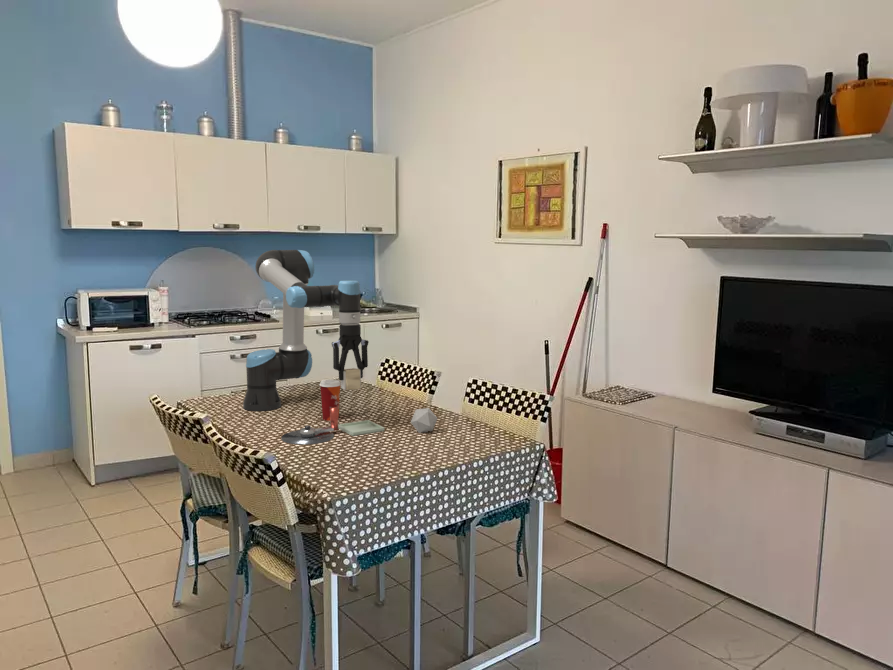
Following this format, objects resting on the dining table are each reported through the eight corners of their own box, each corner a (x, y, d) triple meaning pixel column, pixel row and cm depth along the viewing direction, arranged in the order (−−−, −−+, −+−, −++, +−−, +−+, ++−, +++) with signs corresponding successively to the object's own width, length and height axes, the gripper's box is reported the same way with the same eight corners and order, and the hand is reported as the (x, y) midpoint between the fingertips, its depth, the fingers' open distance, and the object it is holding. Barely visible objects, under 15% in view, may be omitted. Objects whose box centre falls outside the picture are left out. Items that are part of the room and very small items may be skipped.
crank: (303, 438, 232) (303, 413, 231) (298, 434, 236) (297, 410, 235) (340, 432, 239) (340, 408, 238) (335, 429, 243) (334, 405, 242)
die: (431, 428, 251) (415, 407, 250) (445, 421, 245) (429, 399, 244) (418, 441, 245) (402, 419, 244) (433, 434, 239) (416, 411, 238)
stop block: (342, 388, 244) (341, 369, 243) (354, 387, 246) (353, 368, 246) (347, 390, 239) (346, 370, 239) (360, 388, 242) (359, 369, 242)
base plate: (274, 435, 238) (273, 424, 237) (321, 428, 248) (321, 417, 247) (292, 448, 223) (292, 436, 222) (342, 440, 233) (342, 428, 232)
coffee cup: (337, 422, 255) (336, 383, 253) (316, 421, 257) (315, 382, 255) (344, 417, 264) (344, 379, 262) (324, 415, 265) (324, 378, 263)
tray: (337, 428, 247) (337, 424, 247) (368, 423, 254) (368, 419, 254) (352, 436, 237) (352, 432, 237) (384, 431, 244) (384, 427, 243)
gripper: (330, 326, 232) (331, 392, 235) (377, 323, 242) (378, 387, 245) (322, 324, 239) (323, 389, 241) (368, 321, 248) (369, 383, 251)
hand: (351, 387), depth 243 cm, fingers closed on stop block, 5 cm apart
